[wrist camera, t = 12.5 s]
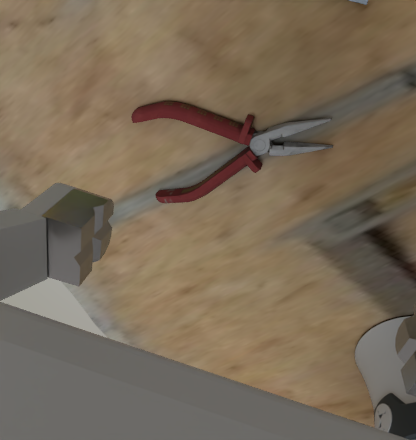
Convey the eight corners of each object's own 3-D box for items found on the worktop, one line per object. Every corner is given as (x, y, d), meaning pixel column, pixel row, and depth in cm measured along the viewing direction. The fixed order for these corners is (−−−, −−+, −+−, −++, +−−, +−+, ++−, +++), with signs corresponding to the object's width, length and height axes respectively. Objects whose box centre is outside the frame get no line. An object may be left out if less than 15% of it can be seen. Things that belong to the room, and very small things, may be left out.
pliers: (335, 181, 42) (337, 191, 39) (162, 198, 47) (155, 208, 45) (328, 69, 36) (329, 74, 34) (134, 104, 42) (124, 111, 40)
